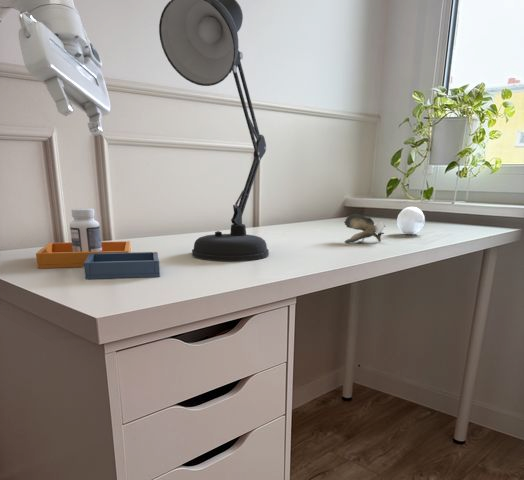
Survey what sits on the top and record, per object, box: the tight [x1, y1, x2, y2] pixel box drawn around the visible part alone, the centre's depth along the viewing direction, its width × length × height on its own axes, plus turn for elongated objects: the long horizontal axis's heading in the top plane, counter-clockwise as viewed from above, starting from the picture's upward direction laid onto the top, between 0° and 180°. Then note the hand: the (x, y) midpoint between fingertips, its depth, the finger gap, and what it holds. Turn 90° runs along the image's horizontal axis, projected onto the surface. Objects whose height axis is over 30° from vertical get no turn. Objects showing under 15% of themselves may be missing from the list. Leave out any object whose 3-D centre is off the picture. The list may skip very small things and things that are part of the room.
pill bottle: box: [69, 207, 102, 252], centre depth 96 cm, size 5×5×9 cm
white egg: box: [396, 206, 426, 235], centre depth 141 cm, size 10×7×7 cm
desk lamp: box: [158, 0, 270, 262], centre depth 98 cm, size 24×26×45 cm
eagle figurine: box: [343, 213, 386, 243], centre depth 125 cm, size 8×7×9 cm
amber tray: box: [35, 240, 132, 269], centre depth 97 cm, size 16×14×3 cm
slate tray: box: [83, 251, 161, 280], centre depth 87 cm, size 12×10×3 cm
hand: (82, 123), depth 84 cm, fingers open, 8 cm apart
